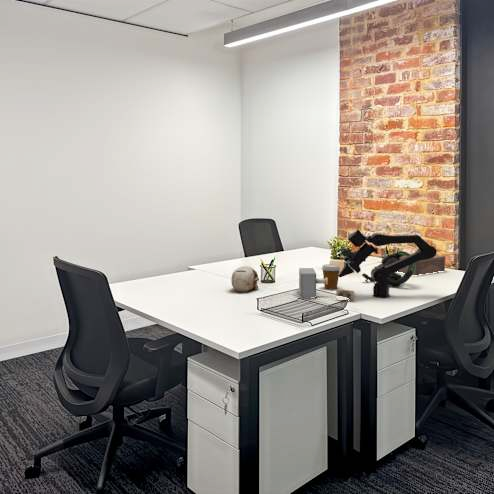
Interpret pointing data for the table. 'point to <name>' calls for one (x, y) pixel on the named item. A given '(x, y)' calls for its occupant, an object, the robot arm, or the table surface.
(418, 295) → the table surface
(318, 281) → the plunger
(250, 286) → the coin bank
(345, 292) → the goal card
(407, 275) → the headset
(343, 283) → the table surface
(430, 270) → the tissue box cover
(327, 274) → the disposable coffee cup
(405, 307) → the table surface
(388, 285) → the robot arm
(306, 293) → the block
